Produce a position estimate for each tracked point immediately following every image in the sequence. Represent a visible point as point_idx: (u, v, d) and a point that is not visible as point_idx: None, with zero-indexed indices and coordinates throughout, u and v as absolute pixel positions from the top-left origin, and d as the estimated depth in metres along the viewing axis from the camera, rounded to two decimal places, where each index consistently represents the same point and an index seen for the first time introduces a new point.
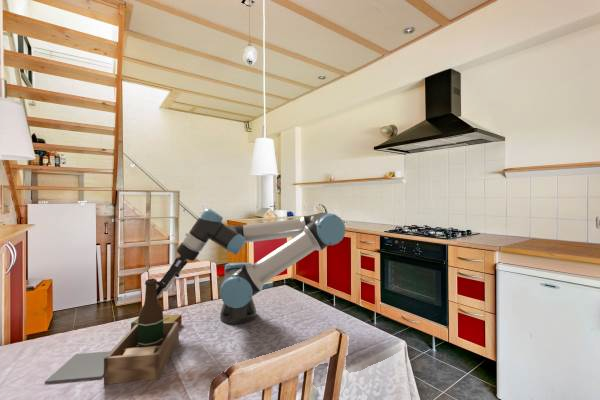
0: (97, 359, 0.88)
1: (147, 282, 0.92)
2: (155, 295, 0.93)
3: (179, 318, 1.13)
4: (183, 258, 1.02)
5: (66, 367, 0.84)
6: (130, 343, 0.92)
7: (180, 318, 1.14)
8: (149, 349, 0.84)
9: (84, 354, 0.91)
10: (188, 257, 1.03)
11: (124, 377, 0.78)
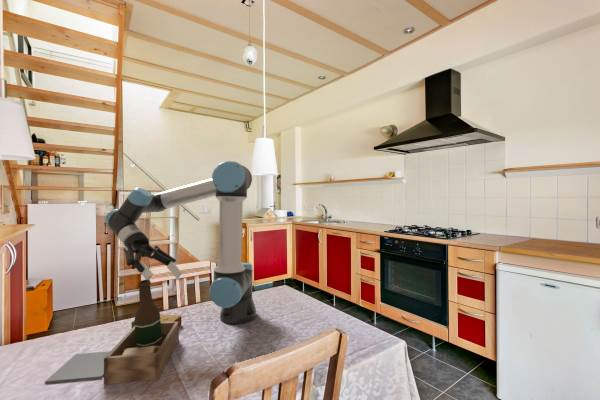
0: (97, 359, 0.88)
1: (140, 284, 0.89)
2: (150, 296, 0.91)
3: (178, 319, 1.12)
4: (131, 244, 1.02)
5: (66, 367, 0.84)
6: (130, 343, 0.92)
7: (180, 319, 1.13)
8: (148, 349, 0.84)
9: (84, 354, 0.91)
10: (132, 240, 1.03)
11: (124, 377, 0.78)
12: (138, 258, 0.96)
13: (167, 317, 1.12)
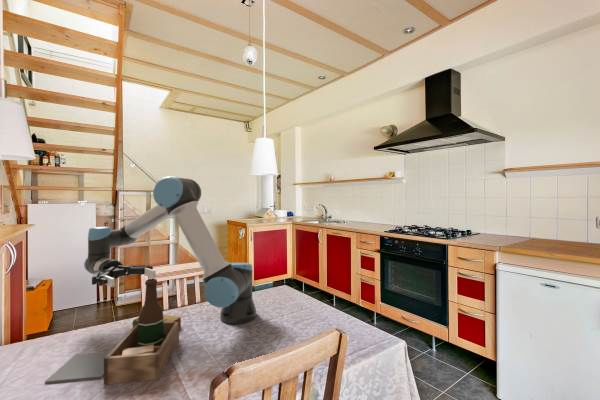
0: (97, 359, 0.88)
1: (147, 282, 0.92)
2: (155, 295, 0.93)
3: None
4: (102, 271, 1.06)
5: (66, 367, 0.84)
6: (130, 343, 0.92)
7: (179, 321, 1.11)
8: (148, 348, 0.84)
9: (84, 354, 0.91)
10: (102, 267, 1.07)
11: (124, 377, 0.78)
12: (102, 275, 0.98)
13: (167, 318, 1.11)
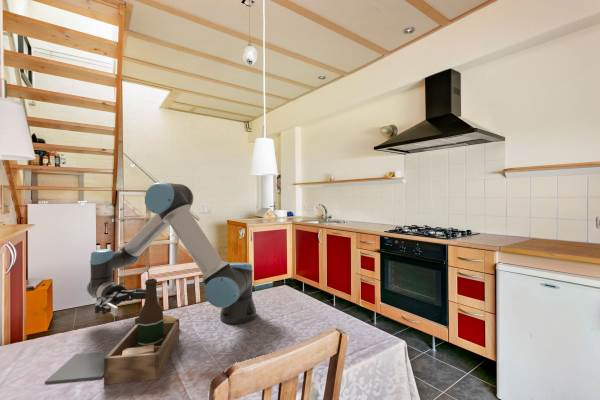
0: (97, 359, 0.88)
1: (147, 282, 0.92)
2: (155, 295, 0.93)
3: None
4: (105, 297, 1.04)
5: (66, 367, 0.84)
6: (130, 343, 0.92)
7: None
8: (148, 348, 0.84)
9: (84, 354, 0.91)
10: (105, 293, 1.05)
11: (124, 377, 0.78)
12: (105, 302, 0.97)
13: (166, 318, 1.11)
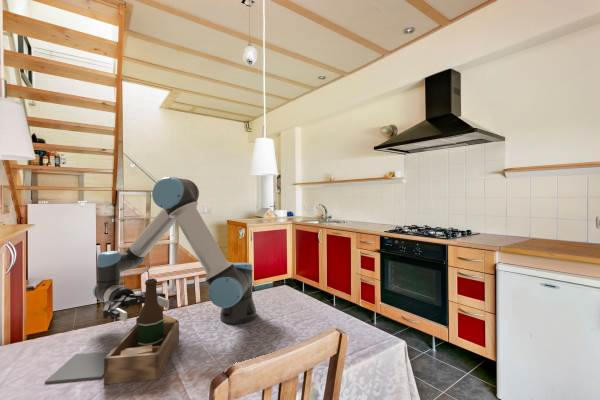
0: (97, 359, 0.88)
1: (147, 282, 0.92)
2: (155, 295, 0.93)
3: None
4: (113, 301, 1.00)
5: (66, 367, 0.84)
6: (130, 343, 0.92)
7: None
8: (146, 348, 0.84)
9: (84, 354, 0.91)
10: (112, 297, 1.01)
11: (124, 377, 0.78)
12: (113, 307, 0.92)
13: (165, 319, 1.10)
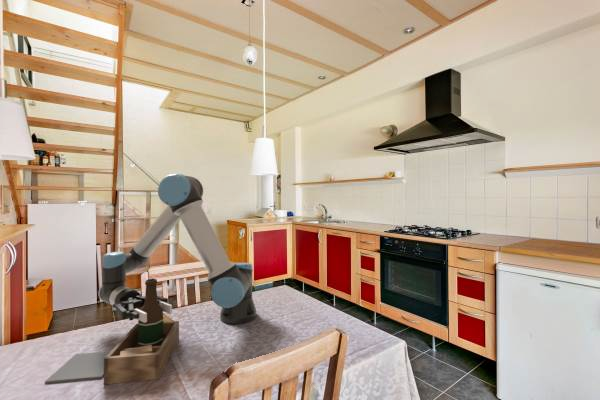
0: (97, 359, 0.88)
1: (147, 282, 0.92)
2: (155, 295, 0.93)
3: None
4: (119, 303, 0.98)
5: (66, 367, 0.84)
6: (130, 343, 0.92)
7: None
8: (146, 348, 0.84)
9: (84, 354, 0.91)
10: (119, 298, 0.99)
11: (124, 377, 0.78)
12: (130, 308, 0.91)
13: (163, 320, 1.10)
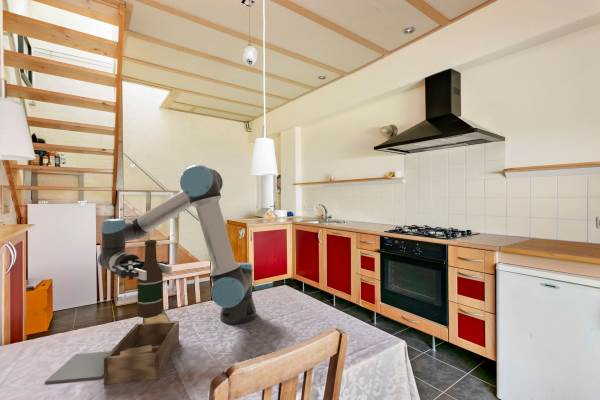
0: (97, 359, 0.88)
1: (147, 242, 0.92)
2: (155, 255, 0.93)
3: None
4: None
5: (66, 367, 0.84)
6: (130, 343, 0.92)
7: None
8: (146, 348, 0.84)
9: (84, 354, 0.91)
10: (118, 261, 0.99)
11: (124, 377, 0.78)
12: (130, 268, 0.91)
13: (162, 320, 1.09)
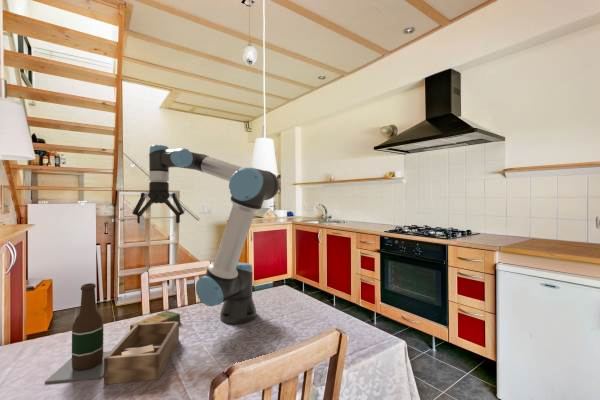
0: None
1: (83, 287, 0.84)
2: (92, 301, 0.85)
3: None
4: None
5: (66, 367, 0.84)
6: (130, 343, 0.92)
7: None
8: (147, 348, 0.84)
9: None
10: (149, 188, 1.20)
11: (124, 377, 0.78)
12: (140, 212, 1.20)
13: (150, 322, 1.07)
